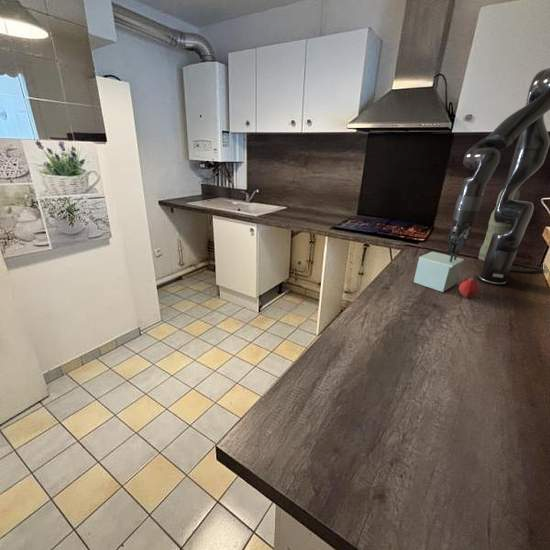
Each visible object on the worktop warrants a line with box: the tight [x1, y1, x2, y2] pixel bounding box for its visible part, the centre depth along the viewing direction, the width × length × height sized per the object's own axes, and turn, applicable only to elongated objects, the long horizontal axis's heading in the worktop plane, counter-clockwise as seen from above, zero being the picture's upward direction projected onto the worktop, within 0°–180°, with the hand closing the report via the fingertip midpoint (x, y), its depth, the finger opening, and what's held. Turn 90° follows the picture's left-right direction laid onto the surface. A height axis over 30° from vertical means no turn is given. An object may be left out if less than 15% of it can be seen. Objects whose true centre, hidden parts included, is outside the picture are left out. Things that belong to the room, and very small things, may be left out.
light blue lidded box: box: [413, 258, 462, 293], centre depth 117 cm, size 12×12×10 cm
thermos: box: [477, 188, 520, 262], centre depth 141 cm, size 9×12×35 cm
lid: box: [418, 249, 465, 268], centre depth 114 cm, size 12×12×5 cm
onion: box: [458, 277, 479, 299], centre depth 106 cm, size 6×6×8 cm
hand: (455, 251), depth 110 cm, fingers open, 8 cm apart
